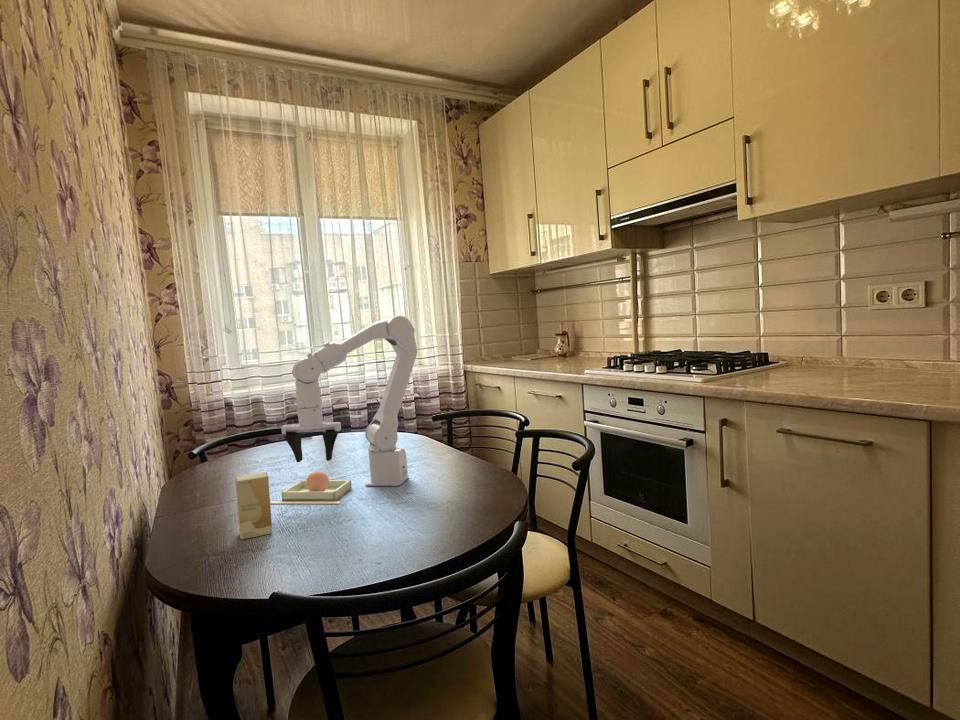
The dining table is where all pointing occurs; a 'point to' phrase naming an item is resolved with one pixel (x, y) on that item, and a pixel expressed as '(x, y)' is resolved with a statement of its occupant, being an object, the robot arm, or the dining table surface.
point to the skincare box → (253, 505)
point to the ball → (317, 481)
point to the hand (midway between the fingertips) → (314, 460)
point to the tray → (303, 494)
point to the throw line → (305, 502)
